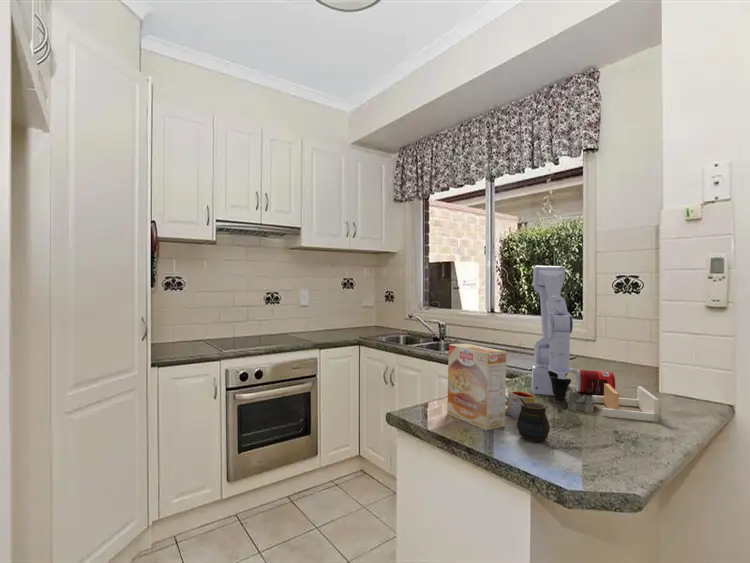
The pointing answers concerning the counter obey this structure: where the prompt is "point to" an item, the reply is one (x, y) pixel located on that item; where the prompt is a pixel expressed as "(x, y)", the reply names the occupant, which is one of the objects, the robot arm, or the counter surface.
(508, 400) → the mug
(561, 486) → the counter surface
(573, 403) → the egg carton
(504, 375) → the coffeecake box
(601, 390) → the canned food
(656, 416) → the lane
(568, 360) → the robot arm
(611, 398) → the pusher plate
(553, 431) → the counter surface
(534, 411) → the mate gourd
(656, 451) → the counter surface
